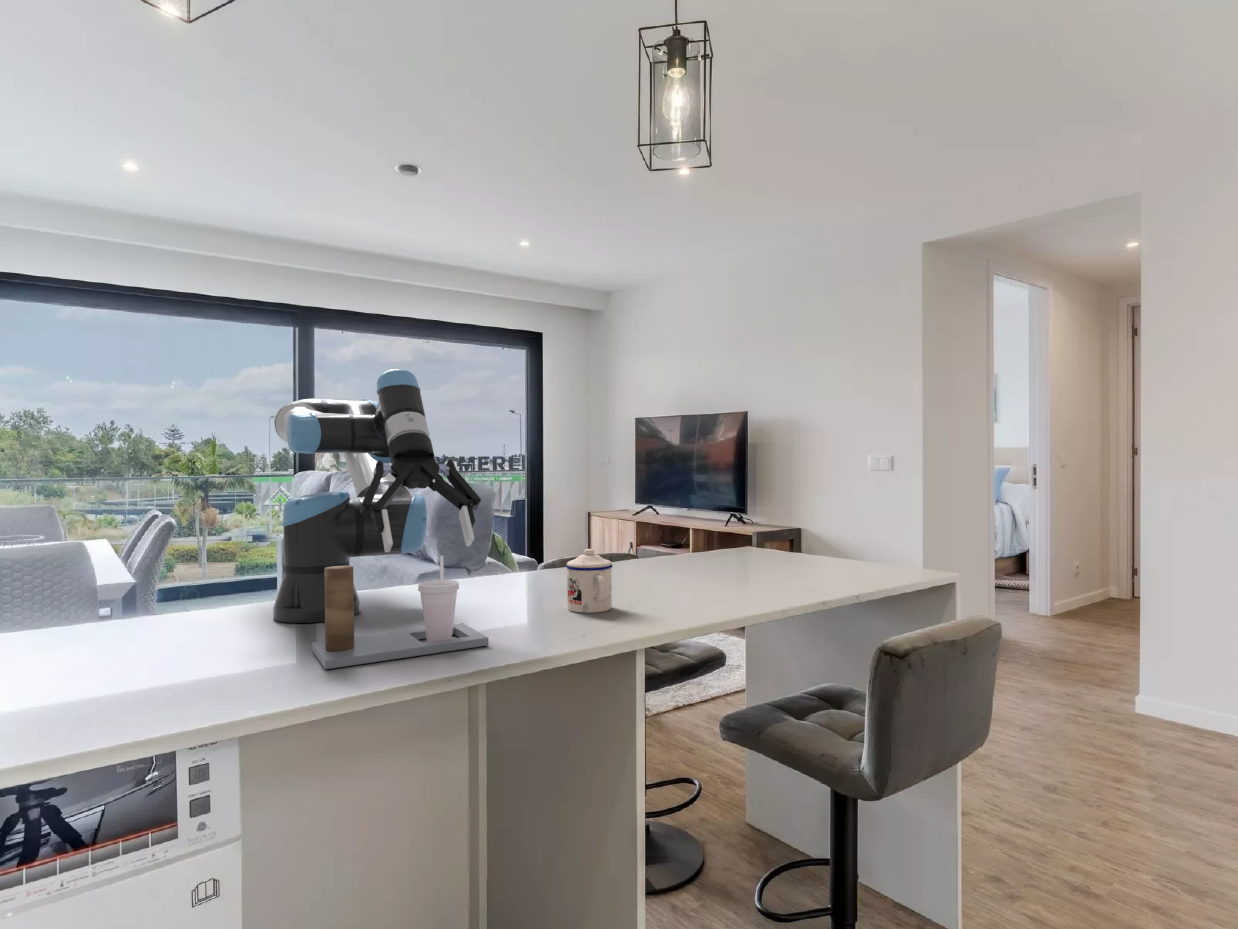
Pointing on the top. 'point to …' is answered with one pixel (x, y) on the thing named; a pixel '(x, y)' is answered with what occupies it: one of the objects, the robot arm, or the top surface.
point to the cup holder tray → (377, 647)
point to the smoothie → (438, 606)
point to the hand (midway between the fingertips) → (430, 545)
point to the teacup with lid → (589, 583)
